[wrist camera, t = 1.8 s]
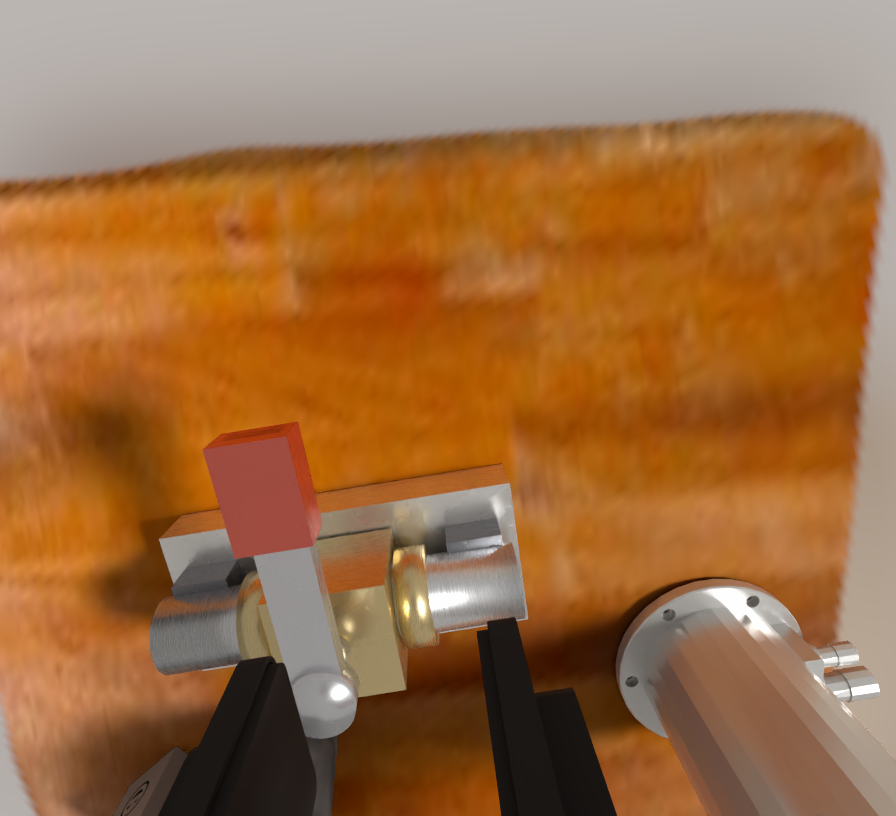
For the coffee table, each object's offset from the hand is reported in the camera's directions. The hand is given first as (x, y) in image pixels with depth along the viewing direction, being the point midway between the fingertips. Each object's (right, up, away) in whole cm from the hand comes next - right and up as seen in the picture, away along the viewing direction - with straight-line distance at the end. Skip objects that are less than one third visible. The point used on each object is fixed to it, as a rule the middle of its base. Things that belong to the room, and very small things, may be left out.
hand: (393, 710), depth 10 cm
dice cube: (-18, -22, +30) cm, 41 cm away
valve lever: (-5, -2, +13) cm, 14 cm away
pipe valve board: (-5, -4, +25) cm, 26 cm away
